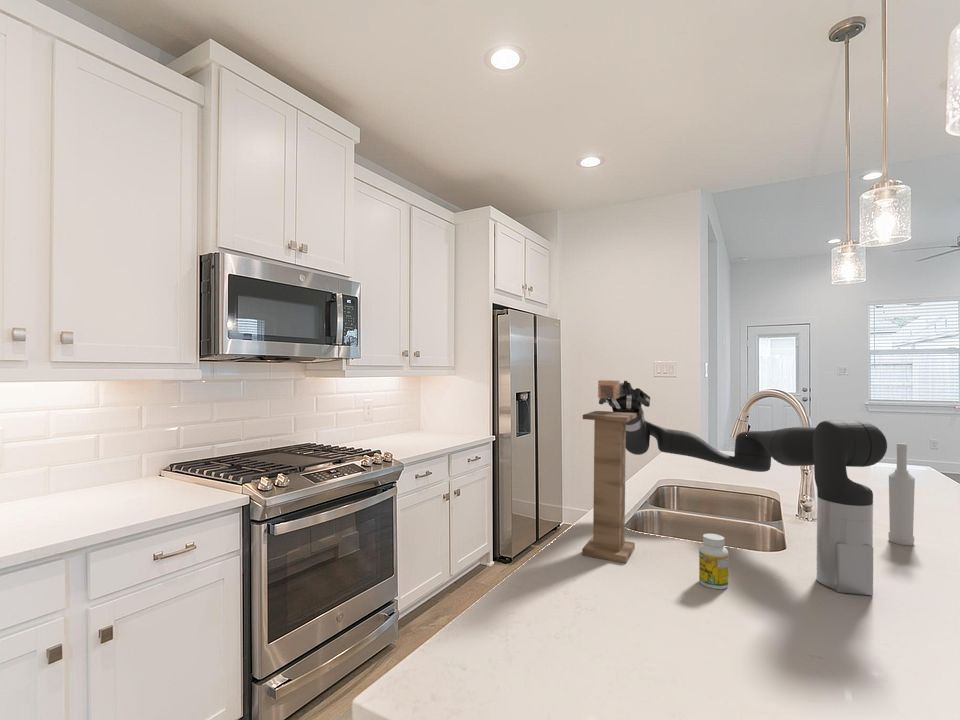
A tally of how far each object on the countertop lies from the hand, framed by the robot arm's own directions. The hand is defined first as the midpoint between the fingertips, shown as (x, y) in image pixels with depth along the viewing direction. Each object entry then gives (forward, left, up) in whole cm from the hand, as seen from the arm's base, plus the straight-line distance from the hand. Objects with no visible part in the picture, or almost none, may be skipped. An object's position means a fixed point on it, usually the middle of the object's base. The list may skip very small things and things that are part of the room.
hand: (617, 383), depth 127 cm
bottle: (+17, -71, -40) cm, 83 cm away
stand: (-8, +2, -39) cm, 40 cm away
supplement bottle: (-21, -18, -40) cm, 48 cm away
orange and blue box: (-3, +1, -3) cm, 4 cm away
